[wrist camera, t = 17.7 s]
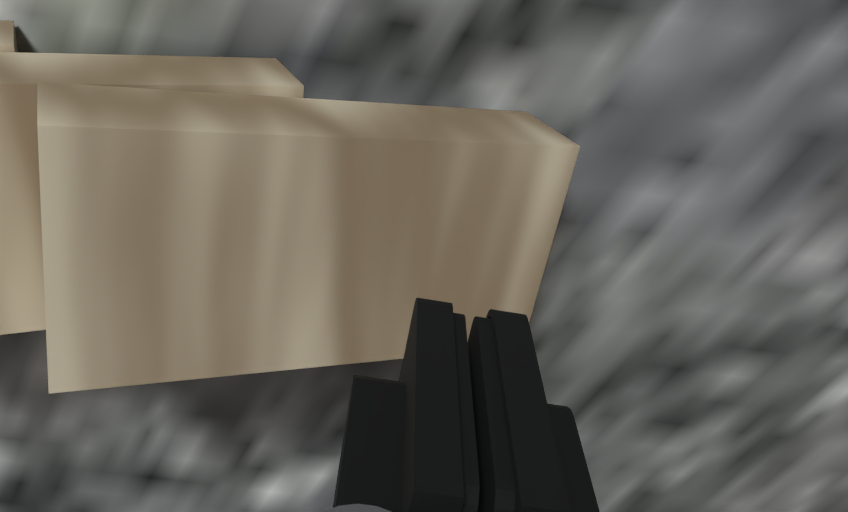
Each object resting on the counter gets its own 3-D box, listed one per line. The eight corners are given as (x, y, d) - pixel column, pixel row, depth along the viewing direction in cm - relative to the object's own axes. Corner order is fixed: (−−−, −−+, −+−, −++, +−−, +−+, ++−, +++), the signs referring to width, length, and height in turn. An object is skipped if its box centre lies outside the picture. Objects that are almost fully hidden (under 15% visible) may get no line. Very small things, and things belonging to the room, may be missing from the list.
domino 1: (303, 85, 15) (-369, 81, 11) (292, 301, 17) (-270, 365, 13) (275, 58, 17) (-315, 44, 13) (268, 257, 19) (-235, 301, 15)
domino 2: (579, 146, 16) (37, 125, 11) (522, 346, 18) (48, 393, 14) (526, 111, 17) (37, 81, 13) (479, 298, 20) (47, 326, 15)
